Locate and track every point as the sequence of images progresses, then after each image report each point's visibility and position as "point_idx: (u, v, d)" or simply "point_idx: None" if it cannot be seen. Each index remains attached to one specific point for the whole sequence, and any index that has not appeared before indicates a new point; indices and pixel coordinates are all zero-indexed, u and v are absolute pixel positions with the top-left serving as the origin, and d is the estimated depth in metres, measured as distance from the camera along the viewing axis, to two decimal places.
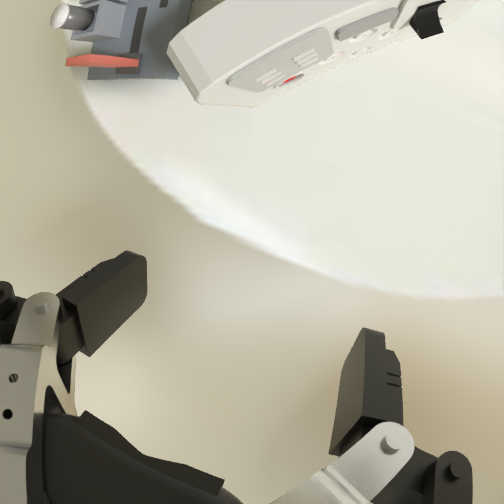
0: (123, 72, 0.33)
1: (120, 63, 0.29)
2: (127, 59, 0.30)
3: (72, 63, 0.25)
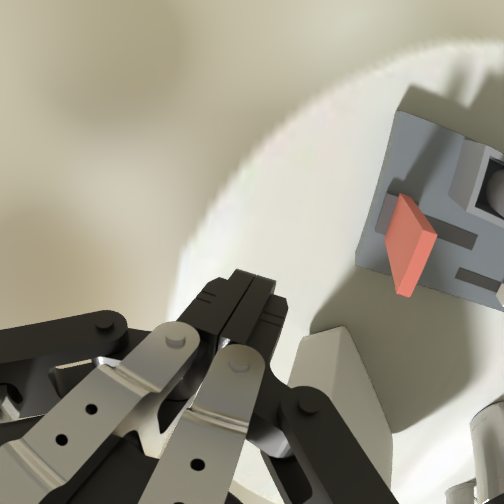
0: (385, 211, 0.24)
1: (390, 257, 0.22)
2: None
3: (417, 251, 0.16)
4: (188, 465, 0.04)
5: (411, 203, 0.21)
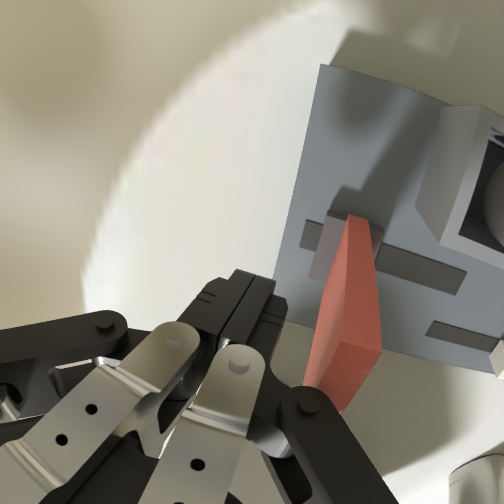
0: (322, 245, 0.15)
1: None
2: None
3: (327, 381, 0.07)
4: (188, 465, 0.04)
5: (360, 238, 0.11)
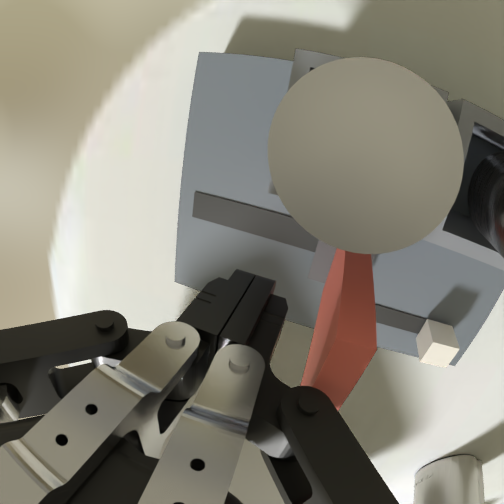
0: (322, 245, 0.15)
1: None
2: None
3: (324, 378, 0.07)
4: (188, 465, 0.04)
5: None
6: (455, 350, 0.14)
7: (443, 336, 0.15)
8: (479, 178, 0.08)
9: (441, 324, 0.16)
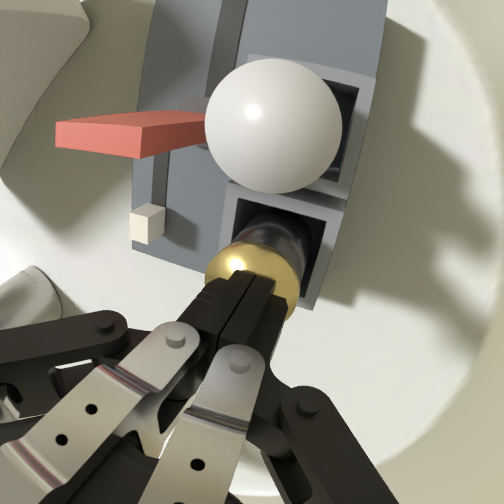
0: None
1: None
2: None
3: (109, 129, 0.08)
4: (188, 465, 0.04)
5: None
6: (145, 241, 0.20)
7: (154, 226, 0.20)
8: (287, 214, 0.14)
9: (163, 222, 0.21)
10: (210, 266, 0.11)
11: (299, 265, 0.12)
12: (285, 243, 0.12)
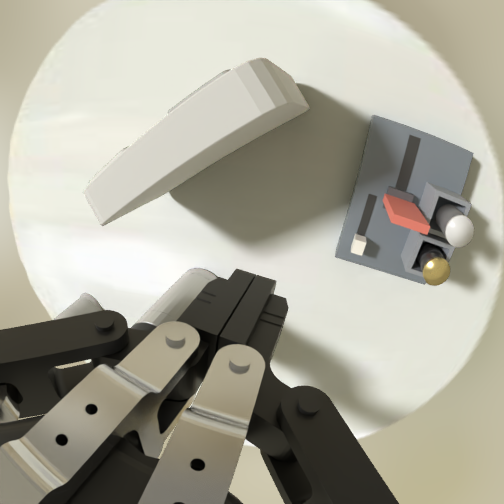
0: (403, 193, 0.36)
1: (387, 201, 0.34)
2: (384, 203, 0.35)
3: (419, 224, 0.28)
4: (188, 465, 0.04)
5: None
6: (361, 254, 0.40)
7: None
8: (435, 245, 0.34)
9: None
10: (427, 264, 0.31)
11: None
12: (443, 257, 0.32)
